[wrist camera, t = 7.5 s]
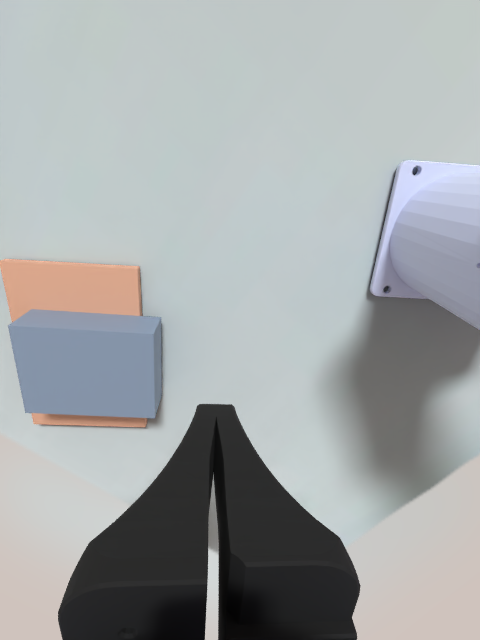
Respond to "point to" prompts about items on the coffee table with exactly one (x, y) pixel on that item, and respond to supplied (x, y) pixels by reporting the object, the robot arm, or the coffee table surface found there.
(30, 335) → the slab
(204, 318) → the coffee table surface
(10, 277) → the mat
